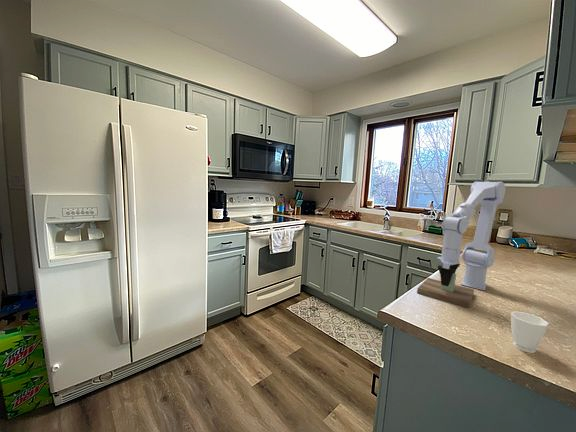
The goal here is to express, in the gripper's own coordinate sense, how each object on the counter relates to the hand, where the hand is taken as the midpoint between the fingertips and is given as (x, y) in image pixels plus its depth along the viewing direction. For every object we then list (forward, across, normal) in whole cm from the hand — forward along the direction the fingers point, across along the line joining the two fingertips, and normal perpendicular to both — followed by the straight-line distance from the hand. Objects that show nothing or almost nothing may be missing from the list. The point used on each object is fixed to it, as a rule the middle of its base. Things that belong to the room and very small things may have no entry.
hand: (446, 282), depth 93 cm
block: (+2, 0, 0) cm, 2 cm away
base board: (+4, 0, 0) cm, 4 cm away
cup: (+5, +22, +21) cm, 31 cm away
